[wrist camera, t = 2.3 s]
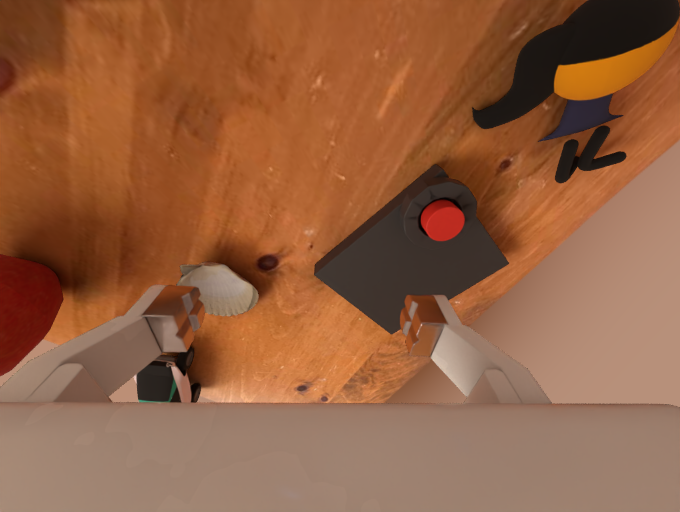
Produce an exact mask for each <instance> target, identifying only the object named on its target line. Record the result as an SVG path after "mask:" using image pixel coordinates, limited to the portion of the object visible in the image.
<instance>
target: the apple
mask: <svg viewBox="0 0 680 512" xmlns="http://www.w3.org/2000/svg"><path fill="white" fill-rule="evenodd" d="M62 302H63V294H62V289H61V286H60V283H59V279H58V277H57V276H56V274H55V272H54V271H52V270H51V269H50V268H48V267H47V266H45V265H43V264H40V263H38V262H34V261H29V260H24V259H20V258H15V257H11V256H6V255H2V254H0V376H2V375H3V374H5V373H7V372H9V371H11V370H12V369H13V368H14V367H15V366H16V365H17V364H18V363H19V362H20V361H21V360H22V359H23V358H24V357H25V356H26V355H27V354H28V353H29V352H30V351H31V350H32V349H33V348H34V347H35V346H36V345H38V344H39V343H40V341H42V340H43V338H44V337H45V336H46V334H47V333H48V332H49V330H50V329H51V326H52V324H53V322H54V320H55V317H56V315H57V313H58V311H59V309H60V306H61V304H62Z"/></svg>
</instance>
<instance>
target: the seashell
mask: <svg viewBox="0 0 680 512" xmlns="http://www.w3.org/2000/svg"><path fill="white" fill-rule="evenodd" d="M180 268H181V272H182V274H183V275H182V276H181V279H180V280H179V282H178V283H177V284H176V285H177V286H194V287H197V288H199V291H200V293H201V295H200V297H199V300H200V301H201V302H202V303H203V304H204V307H205V313H208V314H214V315H221V316H232V315H238V314H243V313H244V312H246V311H249V310H250V309H252V308H253V307H254V306H255V305H256V304H257V301H258V299H259V298H258V297H259V294H258V291H257V290H256V289H255V287H254V286H253V285H252V284H251V283H249V282H248V281H247V280H246V279H245V278H243V277H242V276H240V275H239V274H237V273H235V272H234V271H232V270H230V269H229V268H228V267H227V266H225V265H224V264H220V263H215V262H202V263H200V264H199V265H180Z"/></svg>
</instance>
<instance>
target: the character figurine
mask: <svg viewBox="0 0 680 512" xmlns="http://www.w3.org/2000/svg"><path fill="white" fill-rule="evenodd" d="M679 17H680V7H679V2H678V0H588V1H587V2H585V3H584V4H583V5H581V6H580V7H579V8H578V9H577V10H576V11H575V12H573V13H572V14H571V15H570V16H569V17H568V19H567V20H566V21H565V22H564V23H563V24H562V25H559V26H556V27H553V28H551V29H549V30H547V31H545V32H543V33H541V34H539V35H537V36H535V37H534V38H533V39H531V40H530V41H529V42H528V43H527V44H526V45H525V46H524V47H523V48H522V50H521V52H520V54H519V56H518V59H517V63H516V68H515V73H514V79H513V85H512V87H511V89H510V91H509V92H508V93H507V94H506V95H505V96H504V97H503V98H502V99H501V100H500V101H498V102H497V103H495V104H493V105H491V106H489V107H487V108H485V109H483V110H475V109H474V108H473V107H472V109H473V118H474V121H475V122H476V123H477V124H478V125H479V126H480V127H481V128H483V129H489V128H493V127H496V126H499V125H502V124H505V123H507V122H510V121H513V120H515V119H517V118H519V117H521V116H523V115H524V114H526V113H527V112H529V111H530V110H532V109H533V108H535V107H536V106H538V105H539V104H540V103H542V102H543V101H544V100H545V99H546V98H548V97H549V96H550V95H551V94H552V93H553V92H555V93H556V94H557V95H559V96H561V97H563V98H566V99H568V102H567V104H566V107H565V110H564V113H563V115H562V118H561V121H560V124H559V126H558V127H557V128H556V130H555V131H554V132H553V133H551V134H550V135H548V136H546V137H545V138H543V139H541V140H540V141H545V140H549V139H553V138H557V137H562V136H566V135H570V134H574V133H578V132H581V131H584V130H587V129H590V128H593V127H595V126H598V125H600V124H603V123H606V122H608V121H611V120H613V119H615V118H618V117H621V116H623V115H611V114H610V113H609V104H610V101H611V98H612V95H613V93H614V92H616V91H618V90H620V89H622V88H624V87H626V86H627V85H629V84H631V83H632V82H634V81H635V80H637V79H638V78H639V77H641V76H642V75H643V74H644V73H645V72H647V71H648V70H649V69H650V68H651V67H652V66H653V65H654V64H655V63H656V62H657V61H658V60H659V58H660V57H661V56H662V55H663V53H664V52H665V51H666V49H667V48H668V46H669V44H670V43H671V41H672V39H673V37H674V35H675V32H676V30H677V27H678V23H679ZM609 132H610V128H609V127H608V126H600V127H598V128H597V129H596V130H595V131H594V133H593V134H592V136H591V138H590V140H589V141H588V143H587V145H586V147H585V149H584V150H583V152H582V154H581V156H580V157H578V156H575V154H576V151H577V148H578V145H579V144H578V141H577V140H575V139H571V140H568V141H567V142H566V143H565V144H564V146H563V150H562V153H561V157H560V160H559V164H558V167H557V171H556V175H555V180H556V182H558V183H564V182H566V181H567V180H568V179H569V178H570V177H571V175H572V174H573V173H574V171H575V170H576V168H577V167H578V168H579V169H580V170H583V171H591V170H595V169H599V168H603V167H606V166H609V165H613V164H616V163H620V162H622V161H623V160H625V158H626V153H624V152H616V153H613V154H609V155H606V156H603V157H600V158H596V159H593V158H594V157H595V155H596V153H597V152H598V150H599V148H600V147H601V145H602V144H603V142H604V140H605V139H606V137H607V136H608V134H609ZM538 142H539V141H538Z"/></svg>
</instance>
